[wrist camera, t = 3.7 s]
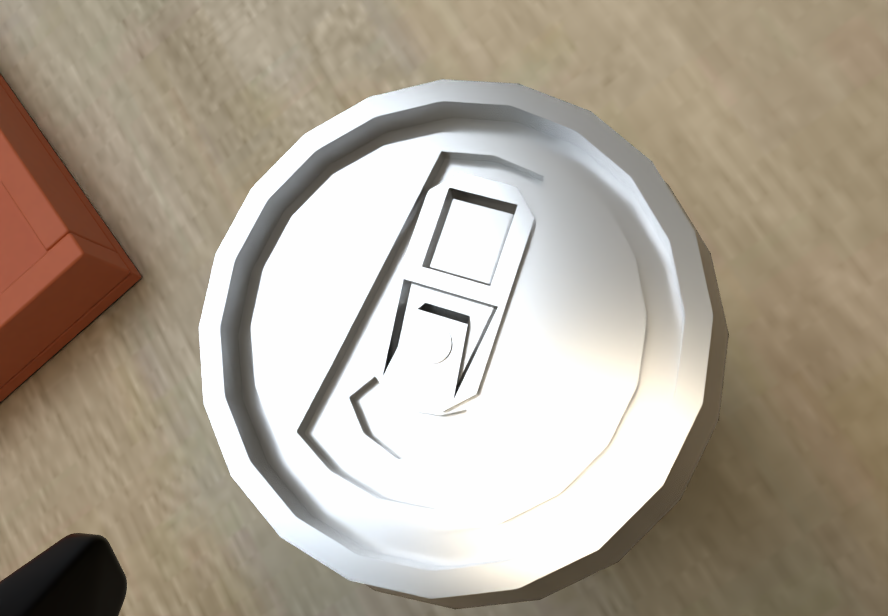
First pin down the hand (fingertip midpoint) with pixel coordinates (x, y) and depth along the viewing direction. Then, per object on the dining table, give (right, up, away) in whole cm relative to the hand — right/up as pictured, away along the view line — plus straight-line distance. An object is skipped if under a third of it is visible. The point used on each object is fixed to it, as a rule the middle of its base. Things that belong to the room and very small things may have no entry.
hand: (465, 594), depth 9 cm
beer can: (+2, +1, +10) cm, 10 cm away
